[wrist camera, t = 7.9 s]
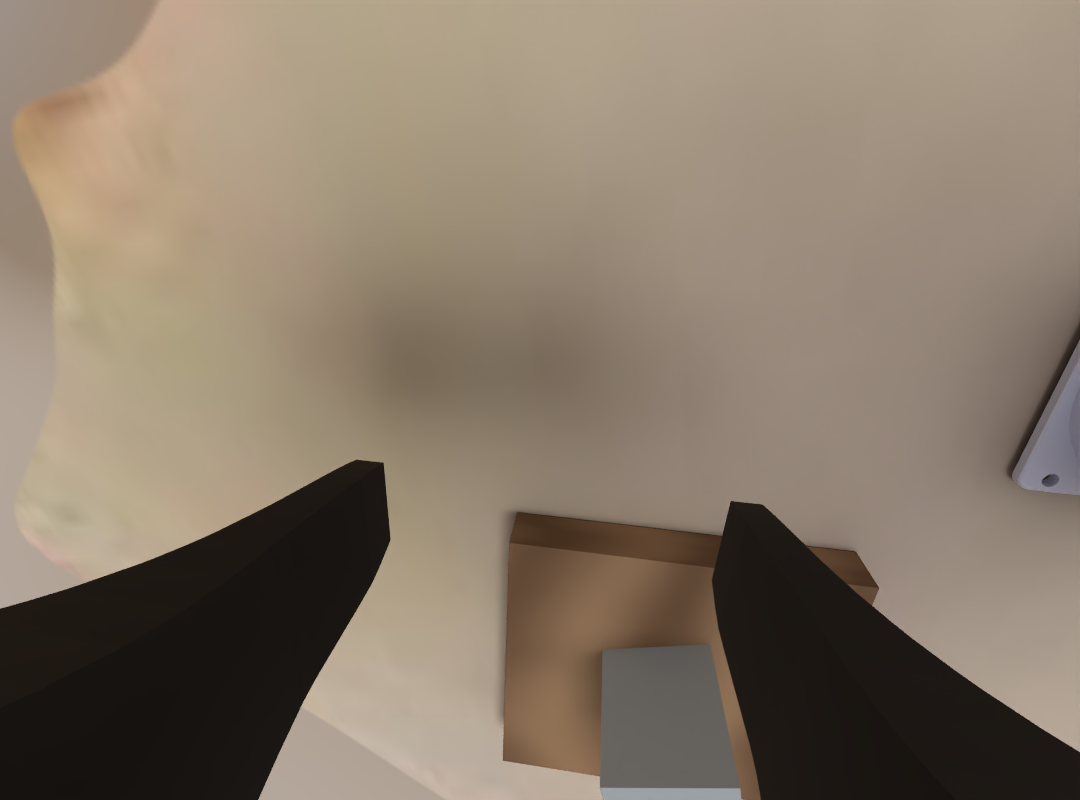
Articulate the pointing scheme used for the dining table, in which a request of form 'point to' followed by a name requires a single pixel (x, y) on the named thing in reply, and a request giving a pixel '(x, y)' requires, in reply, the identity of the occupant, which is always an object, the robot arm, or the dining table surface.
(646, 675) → the block
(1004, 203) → the dining table surface
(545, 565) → the board
